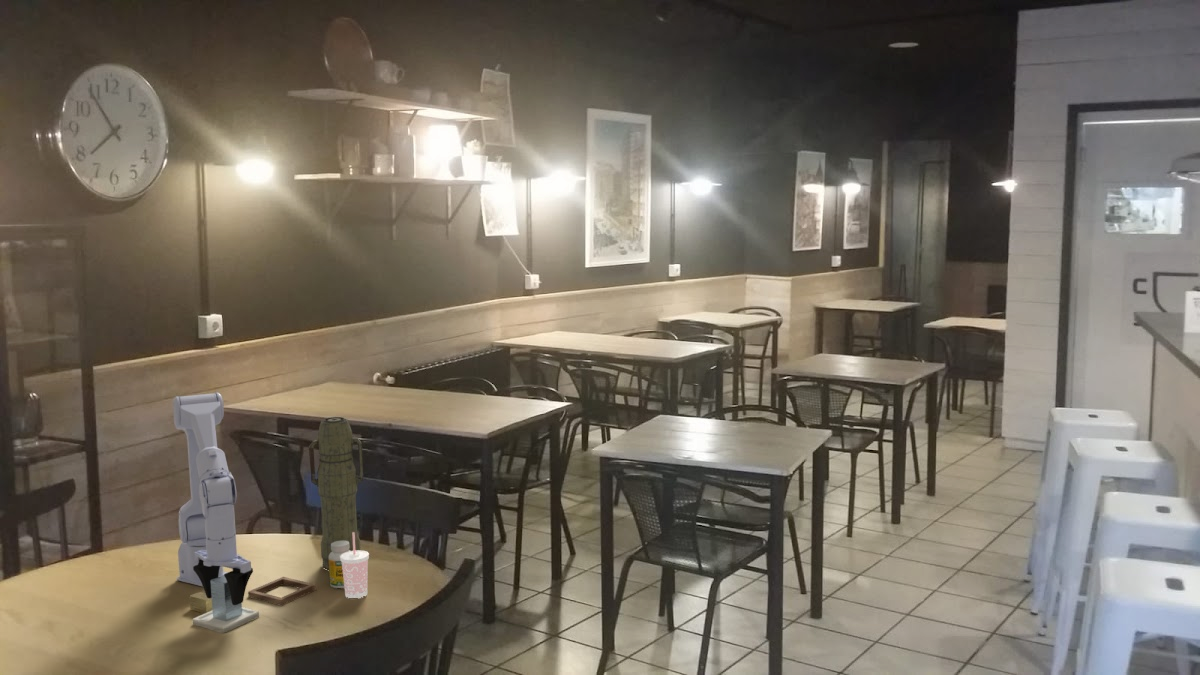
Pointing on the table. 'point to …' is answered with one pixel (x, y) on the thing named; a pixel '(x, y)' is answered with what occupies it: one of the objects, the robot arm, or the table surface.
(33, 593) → the table surface
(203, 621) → the tray
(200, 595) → the bar
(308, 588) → the socket
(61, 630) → the table surface
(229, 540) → the robot arm
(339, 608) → the table surface
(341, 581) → the supplement bottle
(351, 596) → the beverage cup
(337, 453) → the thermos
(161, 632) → the table surface
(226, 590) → the brushed metal block
